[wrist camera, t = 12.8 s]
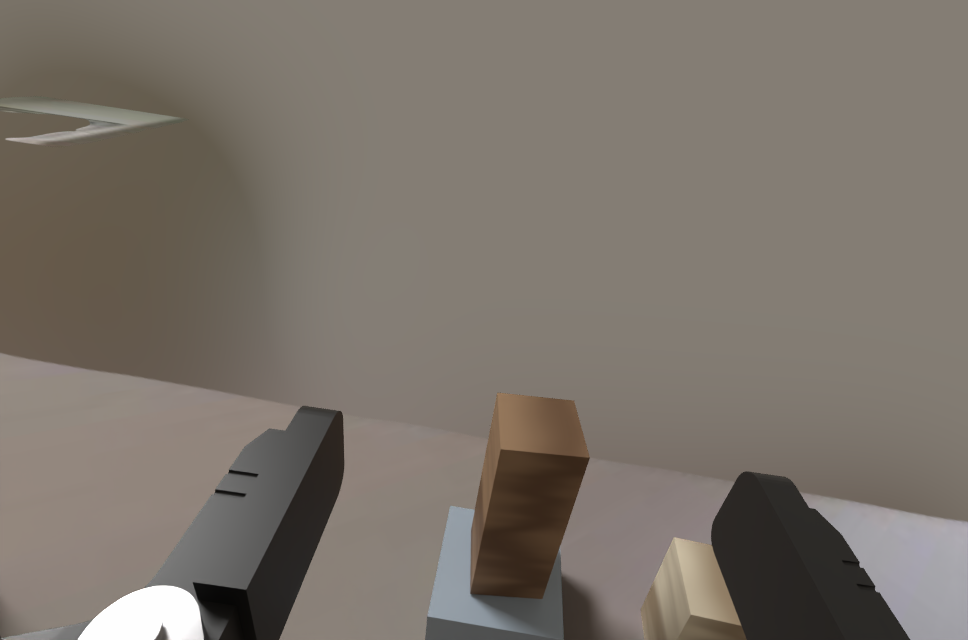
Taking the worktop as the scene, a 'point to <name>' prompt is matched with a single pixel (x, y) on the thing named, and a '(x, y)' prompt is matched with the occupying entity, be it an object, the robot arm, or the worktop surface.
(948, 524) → the worktop surface
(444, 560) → the base block
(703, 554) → the birch block
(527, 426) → the walnut block
